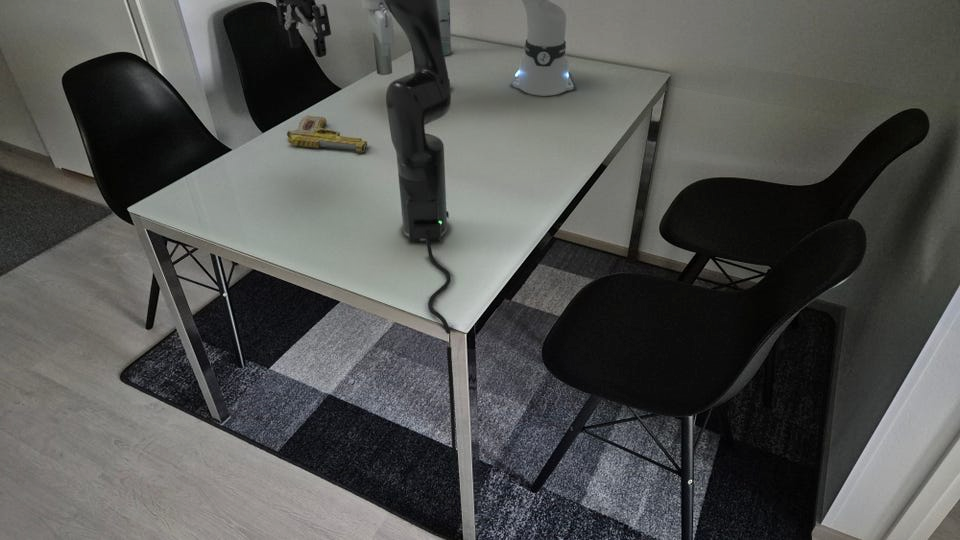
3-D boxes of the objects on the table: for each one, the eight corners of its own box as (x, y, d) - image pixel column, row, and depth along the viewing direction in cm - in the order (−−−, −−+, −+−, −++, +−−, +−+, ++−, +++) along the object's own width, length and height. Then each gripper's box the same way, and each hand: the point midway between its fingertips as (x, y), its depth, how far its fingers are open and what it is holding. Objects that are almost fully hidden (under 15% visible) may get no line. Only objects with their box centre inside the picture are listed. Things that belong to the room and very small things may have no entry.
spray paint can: (430, 51, 220) (427, -10, 208) (447, 48, 222) (445, -12, 209) (435, 57, 215) (433, -5, 203) (453, 54, 217) (452, -7, 205)
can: (376, 75, 175) (372, 35, 168) (377, 70, 178) (373, 31, 172) (392, 74, 175) (388, 35, 168) (392, 69, 178) (389, 30, 172)
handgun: (382, 130, 171) (364, 155, 159) (304, 122, 174) (280, 145, 162) (382, 122, 169) (363, 146, 157) (303, 113, 172) (278, 136, 161)
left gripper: (333, -30, 121) (344, 54, 131) (288, -41, 128) (302, 40, 138) (301, -23, 116) (315, 64, 126) (256, -34, 124) (273, 48, 134)
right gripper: (397, 8, 158) (402, 62, 166) (383, -11, 173) (387, 40, 182) (372, 10, 156) (378, 65, 164) (360, -10, 172) (366, 42, 180)
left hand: (308, 51), depth 132 cm, fingers open, 8 cm apart
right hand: (383, 51), depth 173 cm, fingers closed on can, 4 cm apart
